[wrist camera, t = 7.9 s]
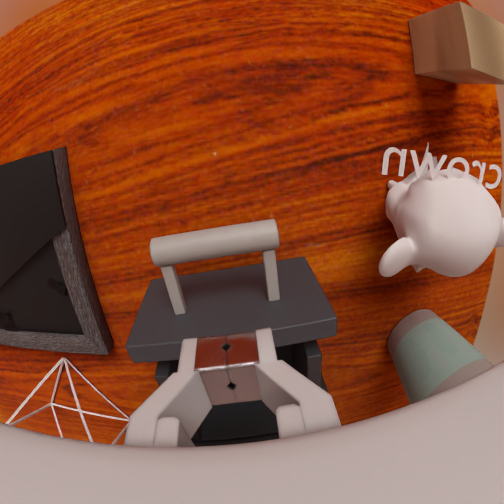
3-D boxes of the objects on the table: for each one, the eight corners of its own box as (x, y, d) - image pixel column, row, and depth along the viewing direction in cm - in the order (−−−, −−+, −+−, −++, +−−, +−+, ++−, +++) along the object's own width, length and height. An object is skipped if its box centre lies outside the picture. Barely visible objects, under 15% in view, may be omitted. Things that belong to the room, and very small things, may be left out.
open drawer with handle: (133, 219, 18) (91, 270, 11) (300, 192, 18) (338, 232, 12) (188, 382, 24) (183, 448, 18) (308, 365, 24) (328, 429, 18)
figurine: (448, 226, 23) (477, 125, 16) (497, 297, 17) (556, 190, 10) (329, 248, 23) (336, 123, 16) (367, 343, 17) (415, 209, 10)
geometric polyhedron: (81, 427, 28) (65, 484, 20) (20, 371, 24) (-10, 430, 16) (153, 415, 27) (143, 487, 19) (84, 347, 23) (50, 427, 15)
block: (451, 33, 14) (503, 24, 9) (457, 84, 16) (513, 85, 10) (407, 19, 14) (459, 0, 8) (414, 74, 16) (471, 68, 10)
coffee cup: (356, 355, 25) (407, 462, 15) (415, 282, 23) (500, 378, 12) (407, 371, 28) (455, 455, 17) (458, 312, 25) (525, 388, 14)
